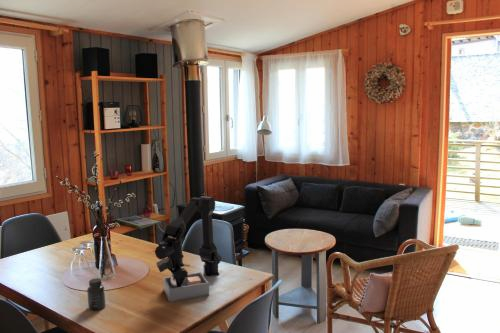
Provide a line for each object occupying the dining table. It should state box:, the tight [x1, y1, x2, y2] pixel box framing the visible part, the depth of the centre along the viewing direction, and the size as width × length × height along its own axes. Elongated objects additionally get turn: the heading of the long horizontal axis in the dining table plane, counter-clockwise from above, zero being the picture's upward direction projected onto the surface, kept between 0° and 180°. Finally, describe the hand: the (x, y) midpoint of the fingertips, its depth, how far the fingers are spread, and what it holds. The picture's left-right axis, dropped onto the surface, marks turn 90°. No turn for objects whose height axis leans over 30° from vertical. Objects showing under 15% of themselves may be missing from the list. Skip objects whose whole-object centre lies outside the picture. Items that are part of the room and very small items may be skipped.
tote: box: [162, 271, 210, 303], centre depth 199 cm, size 18×14×6 cm
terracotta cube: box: [187, 276, 201, 285], centre depth 200 cm, size 5×5×5 cm
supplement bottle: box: [86, 277, 106, 312], centre depth 185 cm, size 7×7×12 cm
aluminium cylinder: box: [170, 276, 182, 288], centre depth 197 cm, size 5×5×7 cm
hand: (176, 285), depth 197 cm, fingers open, 7 cm apart
